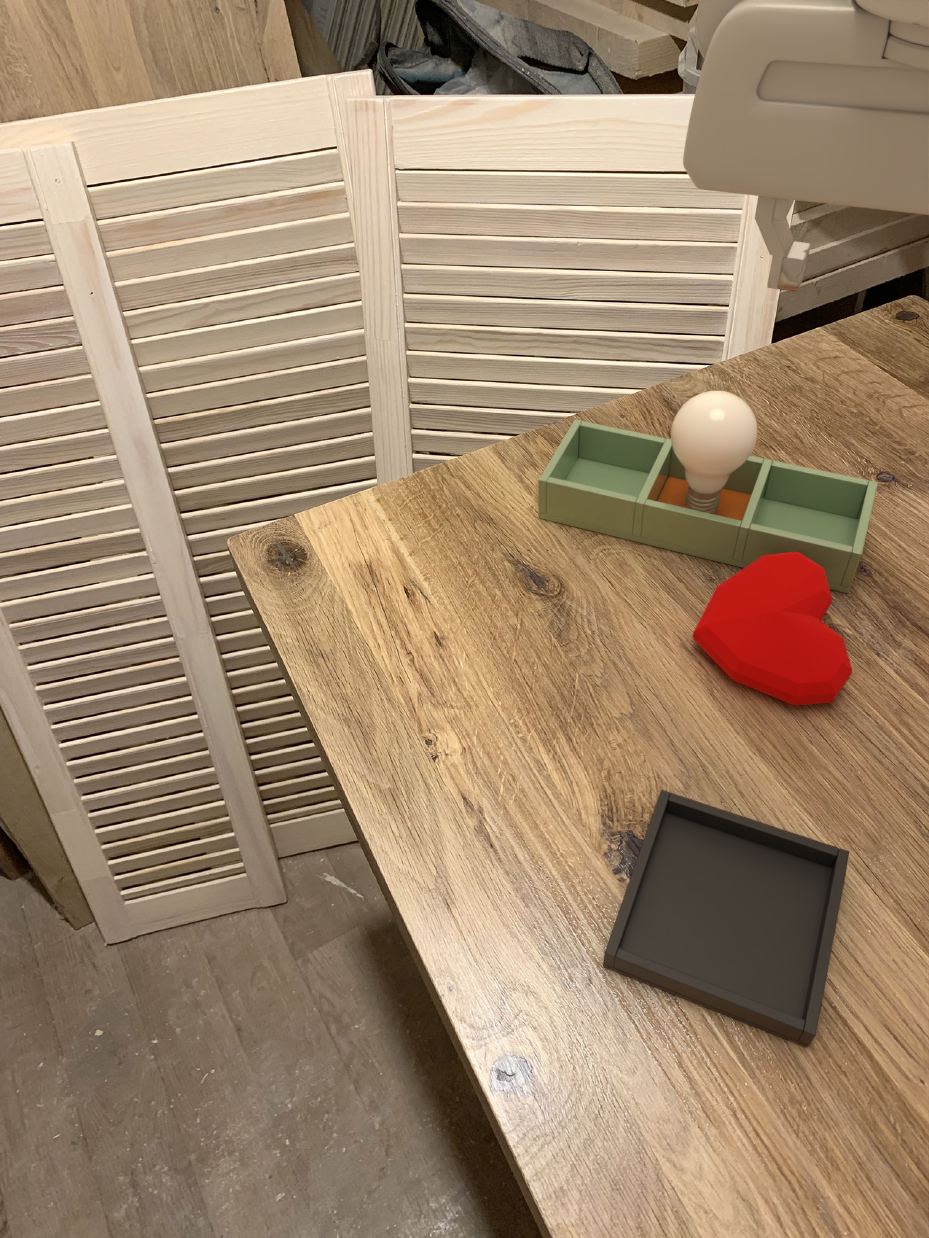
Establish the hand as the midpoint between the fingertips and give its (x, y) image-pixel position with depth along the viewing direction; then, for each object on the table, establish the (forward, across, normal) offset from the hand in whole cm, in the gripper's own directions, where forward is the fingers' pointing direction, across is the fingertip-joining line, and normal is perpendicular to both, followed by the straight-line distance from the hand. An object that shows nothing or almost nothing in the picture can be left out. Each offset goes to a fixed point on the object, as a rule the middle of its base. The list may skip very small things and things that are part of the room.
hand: (887, 299), depth 44 cm
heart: (+29, -2, +3) cm, 29 cm away
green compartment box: (+29, -9, +15) cm, 34 cm away
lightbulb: (+28, -9, +15) cm, 33 cm away
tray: (+29, +1, -18) cm, 34 cm away
